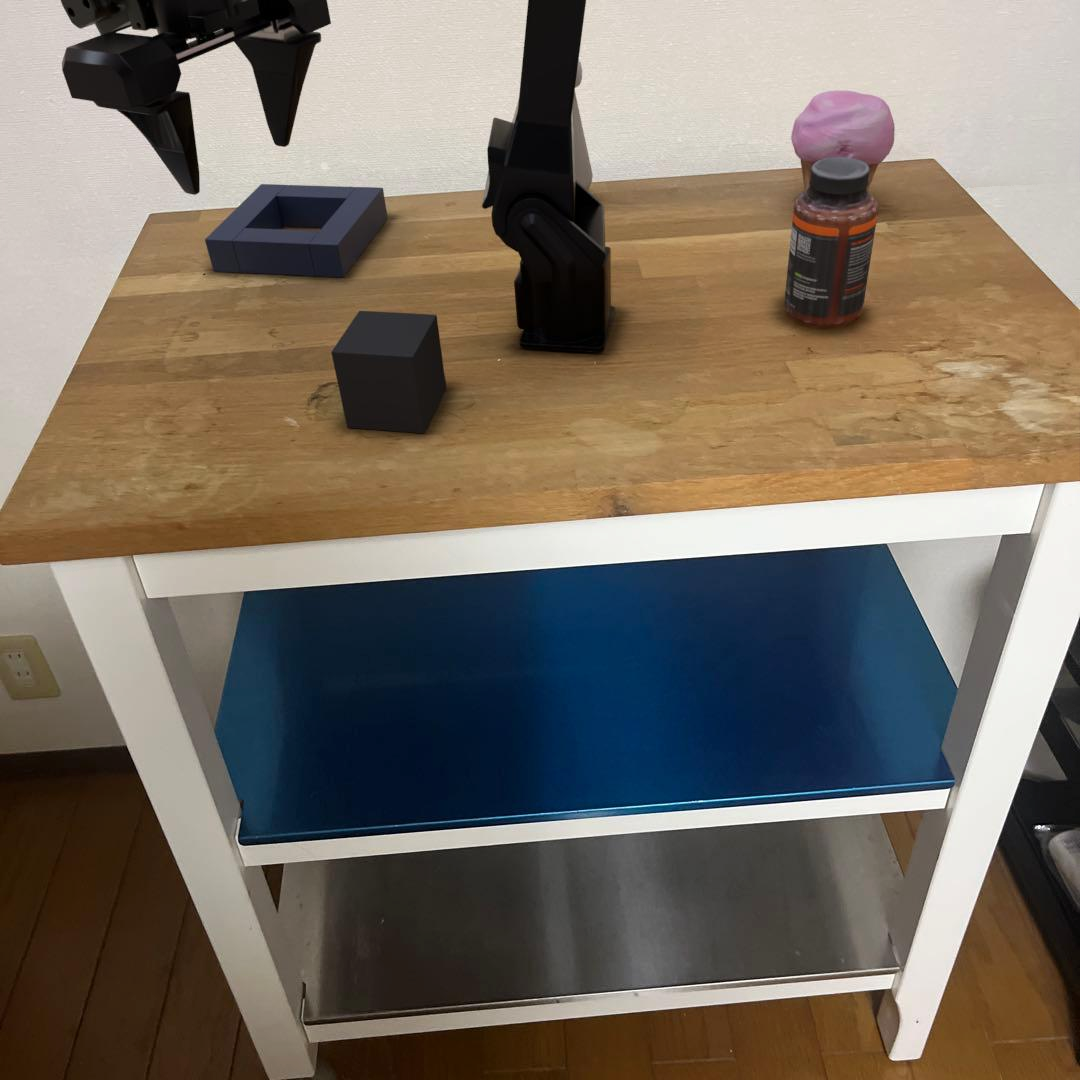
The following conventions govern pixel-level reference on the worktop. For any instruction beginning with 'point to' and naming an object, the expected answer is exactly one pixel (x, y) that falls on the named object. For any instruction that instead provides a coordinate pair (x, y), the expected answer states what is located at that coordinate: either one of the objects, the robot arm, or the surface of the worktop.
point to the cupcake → (843, 130)
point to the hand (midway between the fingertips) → (239, 168)
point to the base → (267, 249)
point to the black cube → (390, 371)
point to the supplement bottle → (831, 244)
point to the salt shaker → (580, 142)
